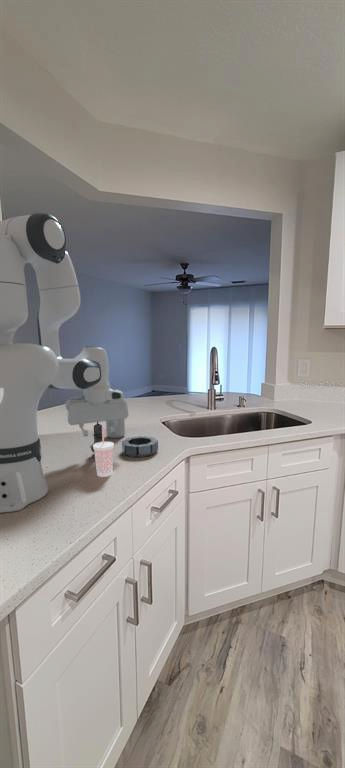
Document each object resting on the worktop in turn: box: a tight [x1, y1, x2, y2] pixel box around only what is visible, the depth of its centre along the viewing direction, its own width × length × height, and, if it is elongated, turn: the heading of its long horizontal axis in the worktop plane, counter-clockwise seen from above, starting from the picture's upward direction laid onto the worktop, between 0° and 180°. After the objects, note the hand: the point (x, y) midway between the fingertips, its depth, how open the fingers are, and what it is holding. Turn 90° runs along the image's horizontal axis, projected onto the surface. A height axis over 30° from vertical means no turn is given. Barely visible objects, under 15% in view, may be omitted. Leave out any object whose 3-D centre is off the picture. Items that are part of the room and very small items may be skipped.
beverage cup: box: [93, 427, 115, 478], centre depth 100 cm, size 6×6×14 cm
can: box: [105, 419, 126, 439], centre depth 139 cm, size 8×8×12 cm
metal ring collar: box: [121, 435, 159, 458], centre depth 120 cm, size 12×12×4 cm
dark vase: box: [89, 422, 103, 459], centre depth 116 cm, size 6×6×12 cm
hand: (99, 433), depth 116 cm, fingers open, 8 cm apart
